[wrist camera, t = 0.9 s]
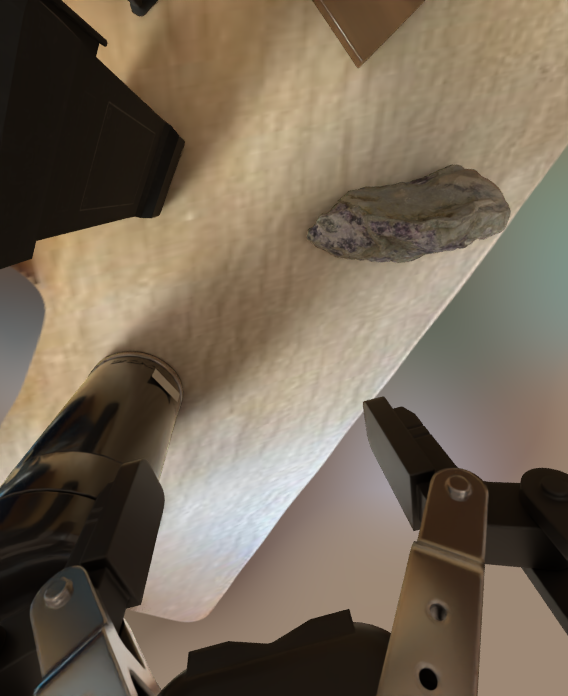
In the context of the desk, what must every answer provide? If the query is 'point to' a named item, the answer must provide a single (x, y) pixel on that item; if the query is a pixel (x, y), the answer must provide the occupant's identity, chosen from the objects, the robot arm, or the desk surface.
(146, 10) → the action figure
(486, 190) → the mineral rock
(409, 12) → the shelf
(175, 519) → the desk surface
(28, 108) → the portable radio
